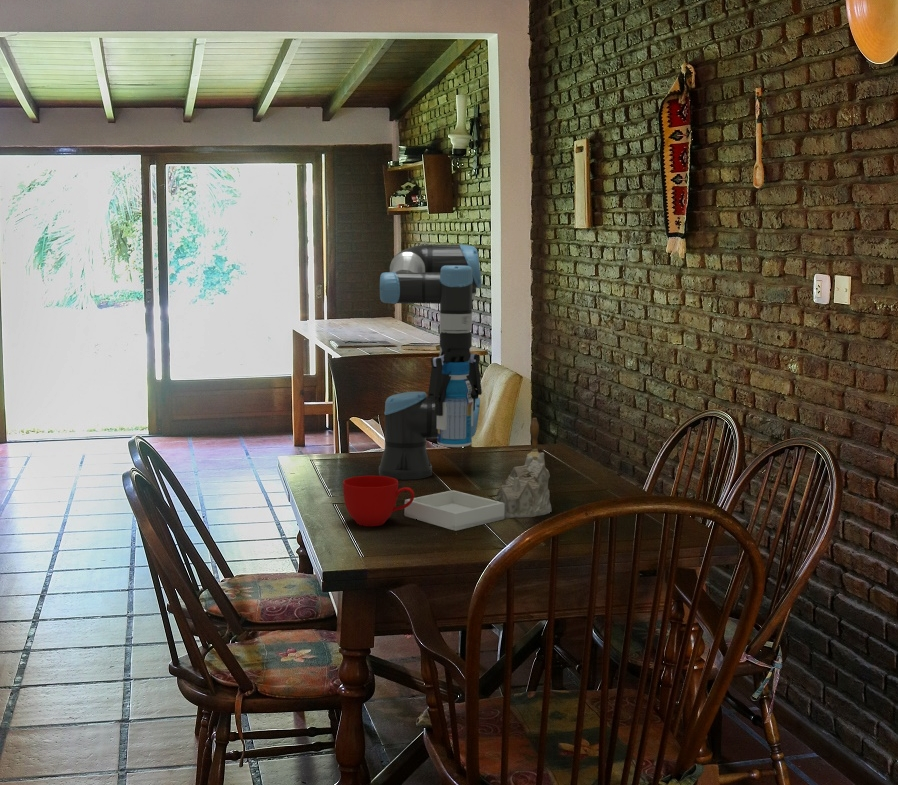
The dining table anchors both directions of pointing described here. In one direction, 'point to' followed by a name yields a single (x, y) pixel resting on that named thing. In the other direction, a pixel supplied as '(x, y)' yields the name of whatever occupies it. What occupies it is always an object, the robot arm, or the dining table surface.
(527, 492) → the ceramic cottage
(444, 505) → the tray
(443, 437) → the beverage bottle
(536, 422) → the hand bell
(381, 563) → the dining table surface
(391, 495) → the ceramic cup
